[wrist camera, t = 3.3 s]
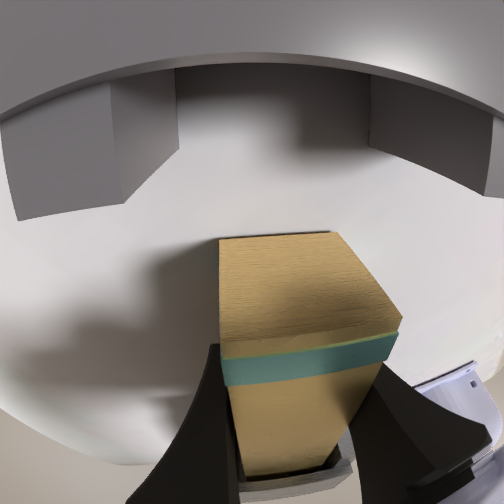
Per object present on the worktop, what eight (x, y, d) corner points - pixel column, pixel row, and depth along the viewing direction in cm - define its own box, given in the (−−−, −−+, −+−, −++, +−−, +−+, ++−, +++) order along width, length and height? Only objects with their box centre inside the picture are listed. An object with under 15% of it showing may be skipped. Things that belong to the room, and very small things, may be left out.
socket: (415, 48, 6) (546, 46, 1) (414, 151, 8) (540, 211, 3) (110, 38, 5) (-11, -12, 1) (117, 157, 7) (-4, 239, 3)
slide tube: (337, 231, 9) (405, 317, 5) (299, 426, 17) (311, 479, 13) (217, 239, 9) (217, 344, 5) (241, 433, 16) (247, 489, 12)
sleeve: (334, 376, 14) (364, 462, 9) (315, 426, 17) (332, 489, 12) (208, 391, 13) (211, 487, 9) (222, 437, 17) (227, 504, 12)
